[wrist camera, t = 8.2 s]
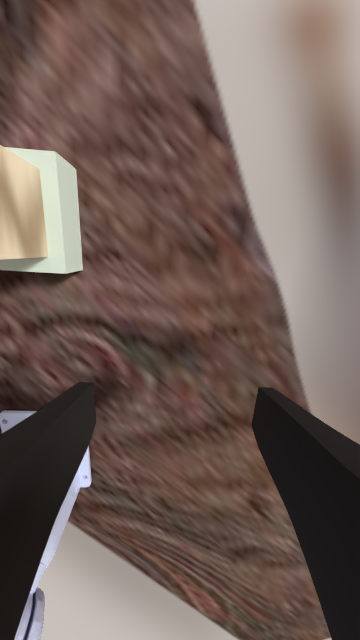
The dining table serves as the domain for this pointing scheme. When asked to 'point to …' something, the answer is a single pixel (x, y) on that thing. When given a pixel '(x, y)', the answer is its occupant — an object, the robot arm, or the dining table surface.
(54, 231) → the base block
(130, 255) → the dining table surface
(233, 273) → the dining table surface
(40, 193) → the maple cube
